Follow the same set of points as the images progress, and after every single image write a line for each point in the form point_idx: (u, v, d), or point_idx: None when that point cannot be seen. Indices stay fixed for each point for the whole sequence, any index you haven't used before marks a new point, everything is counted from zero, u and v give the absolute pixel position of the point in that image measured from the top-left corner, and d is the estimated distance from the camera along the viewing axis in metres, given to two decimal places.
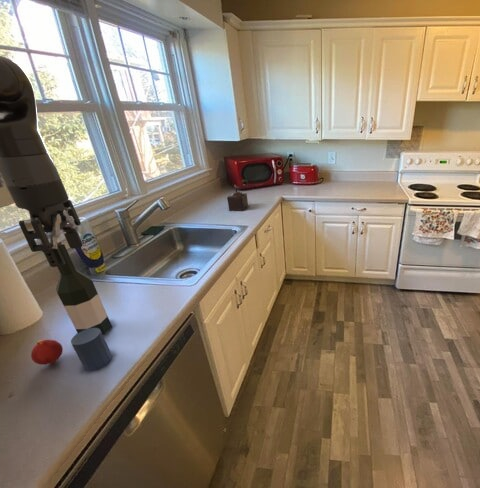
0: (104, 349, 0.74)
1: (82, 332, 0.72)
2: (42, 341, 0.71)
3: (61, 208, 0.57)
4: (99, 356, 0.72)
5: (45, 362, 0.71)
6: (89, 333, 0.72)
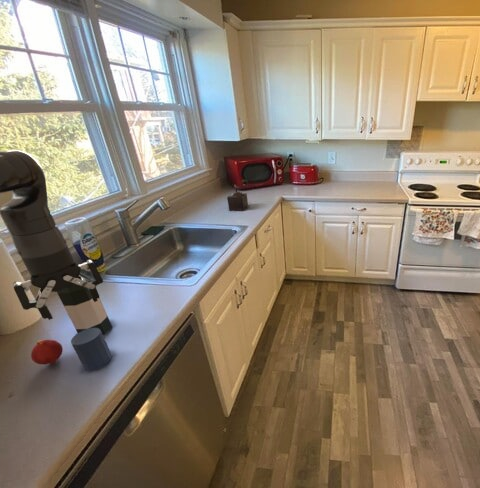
0: (104, 349, 0.74)
1: (82, 332, 0.72)
2: (42, 341, 0.71)
3: (71, 271, 0.64)
4: (99, 356, 0.72)
5: (45, 362, 0.71)
6: (89, 333, 0.72)
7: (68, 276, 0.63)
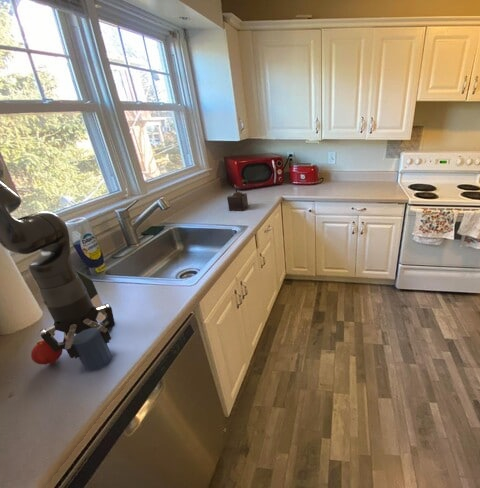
0: (105, 349, 0.74)
1: (82, 332, 0.72)
2: (42, 341, 0.71)
3: (90, 315, 0.70)
4: (99, 356, 0.72)
5: (45, 362, 0.71)
6: (89, 333, 0.72)
7: (87, 319, 0.69)
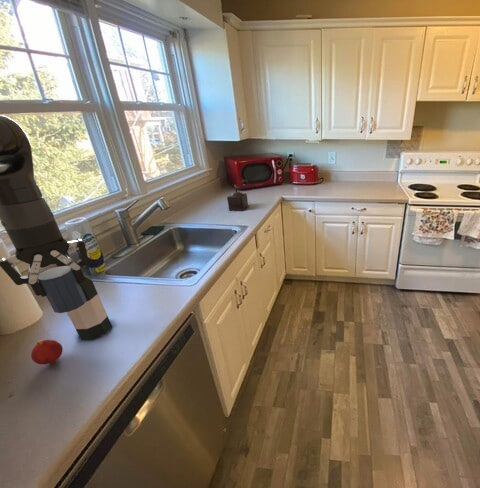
0: (77, 290, 0.65)
1: (51, 269, 0.64)
2: (42, 341, 0.71)
3: (59, 247, 0.61)
4: (70, 296, 0.64)
5: (45, 362, 0.71)
6: (59, 270, 0.64)
7: (55, 251, 0.61)
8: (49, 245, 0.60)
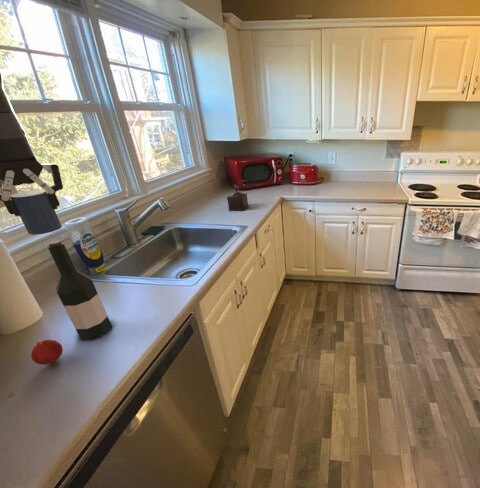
0: (51, 214, 0.67)
1: (25, 192, 0.65)
2: (42, 341, 0.71)
3: (32, 167, 0.63)
4: (44, 218, 0.65)
5: (45, 362, 0.71)
6: (33, 192, 0.65)
7: (28, 170, 0.62)
8: (21, 163, 0.61)
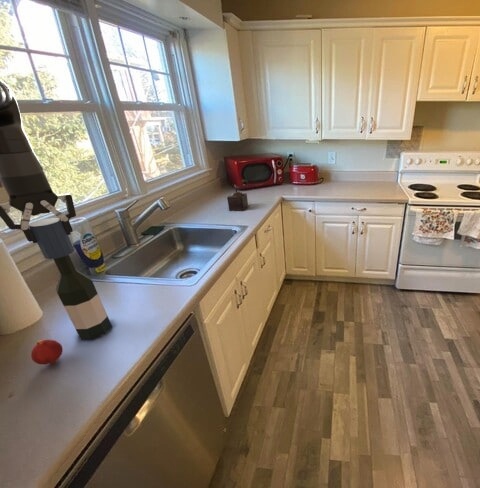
0: (65, 239, 0.72)
1: (42, 220, 0.71)
2: (42, 341, 0.71)
3: (48, 198, 0.69)
4: (59, 244, 0.71)
5: (45, 362, 0.71)
6: (49, 220, 0.71)
7: (45, 201, 0.68)
8: (39, 195, 0.67)
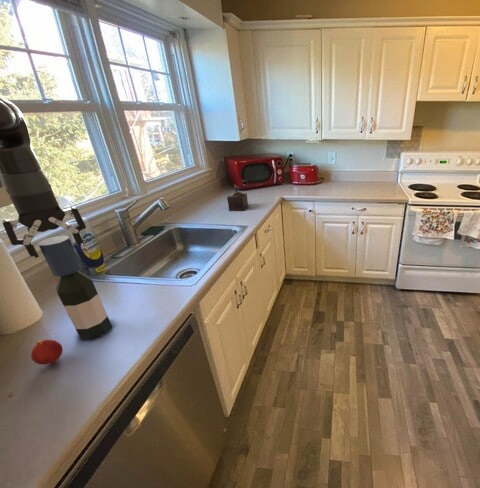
0: (73, 257, 0.75)
1: (50, 238, 0.73)
2: (42, 341, 0.71)
3: (56, 214, 0.70)
4: (67, 261, 0.73)
5: (45, 362, 0.71)
6: (57, 239, 0.73)
7: (53, 218, 0.70)
8: (47, 212, 0.69)
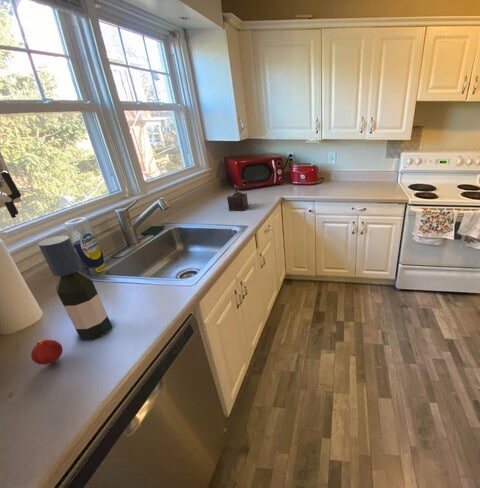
0: (73, 257, 0.75)
1: (50, 238, 0.73)
2: (42, 341, 0.71)
3: None
4: (67, 261, 0.73)
5: (45, 362, 0.71)
6: (57, 239, 0.73)
7: None
8: None
